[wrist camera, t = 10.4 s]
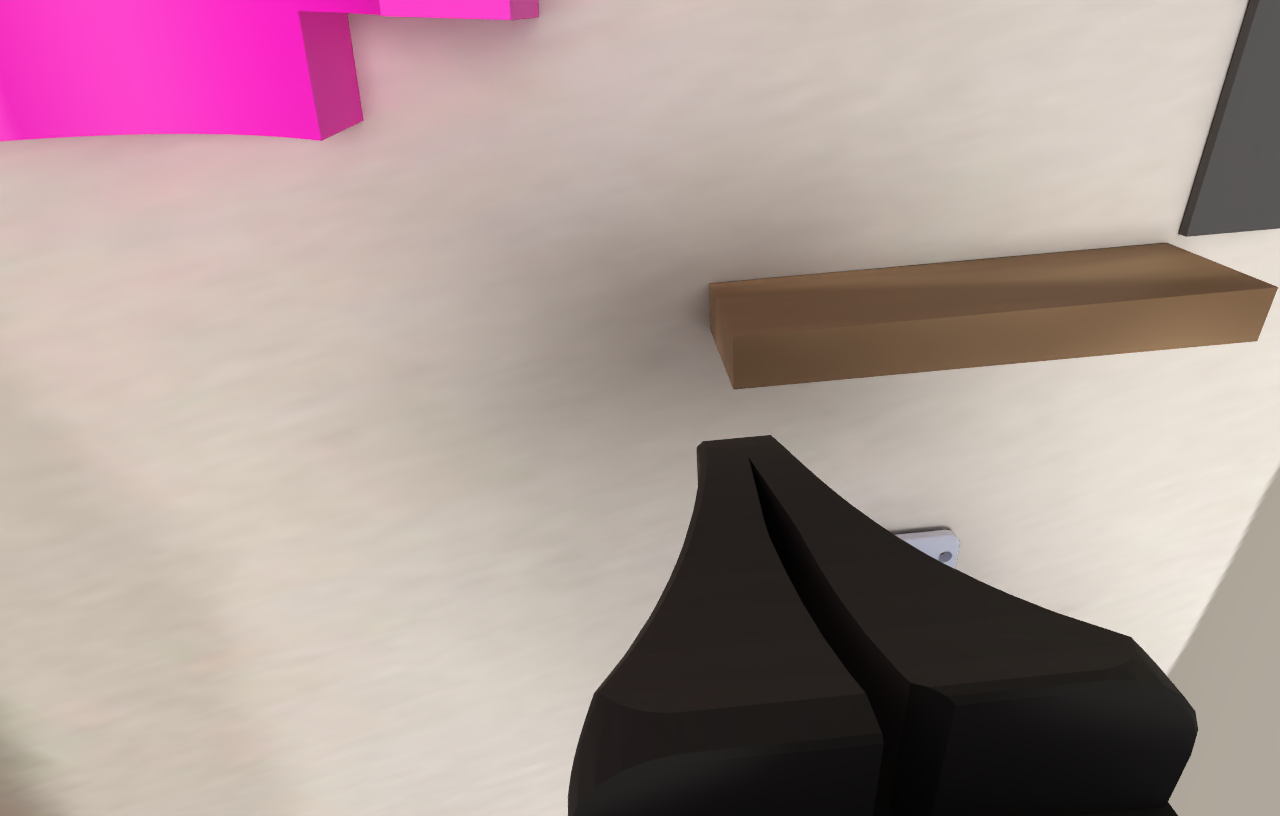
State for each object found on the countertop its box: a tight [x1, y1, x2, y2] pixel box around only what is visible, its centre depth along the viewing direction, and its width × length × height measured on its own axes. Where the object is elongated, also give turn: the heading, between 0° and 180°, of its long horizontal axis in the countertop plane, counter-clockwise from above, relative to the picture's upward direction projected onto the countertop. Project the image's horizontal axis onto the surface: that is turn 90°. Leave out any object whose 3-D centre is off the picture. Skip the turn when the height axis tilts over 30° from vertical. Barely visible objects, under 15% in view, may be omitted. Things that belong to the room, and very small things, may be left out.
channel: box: [710, 243, 1278, 389], centre depth 17 cm, size 12×14×4 cm
